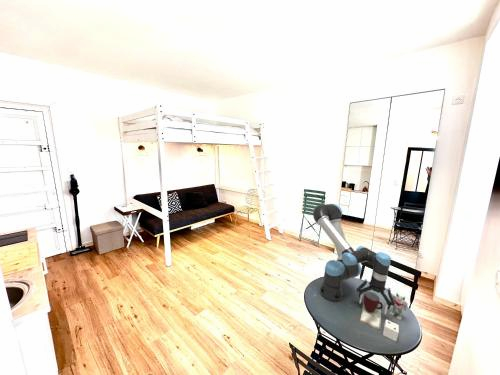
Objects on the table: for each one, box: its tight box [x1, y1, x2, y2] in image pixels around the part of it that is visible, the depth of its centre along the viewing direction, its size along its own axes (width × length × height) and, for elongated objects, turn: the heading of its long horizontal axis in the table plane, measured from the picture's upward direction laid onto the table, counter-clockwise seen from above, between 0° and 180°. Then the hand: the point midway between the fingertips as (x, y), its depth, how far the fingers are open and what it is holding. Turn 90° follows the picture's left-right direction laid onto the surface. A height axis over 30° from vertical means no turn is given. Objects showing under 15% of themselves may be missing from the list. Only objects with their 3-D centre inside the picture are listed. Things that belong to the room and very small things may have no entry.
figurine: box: [389, 292, 408, 321], centre depth 124 cm, size 8×8×15 cm
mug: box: [363, 291, 384, 312], centre depth 126 cm, size 10×8×10 cm
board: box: [359, 302, 382, 331], centre depth 124 cm, size 10×16×1 cm, turn 146°
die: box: [382, 319, 400, 342], centre depth 112 cm, size 6×6×6 cm
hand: (372, 307), depth 126 cm, fingers open, 13 cm apart
